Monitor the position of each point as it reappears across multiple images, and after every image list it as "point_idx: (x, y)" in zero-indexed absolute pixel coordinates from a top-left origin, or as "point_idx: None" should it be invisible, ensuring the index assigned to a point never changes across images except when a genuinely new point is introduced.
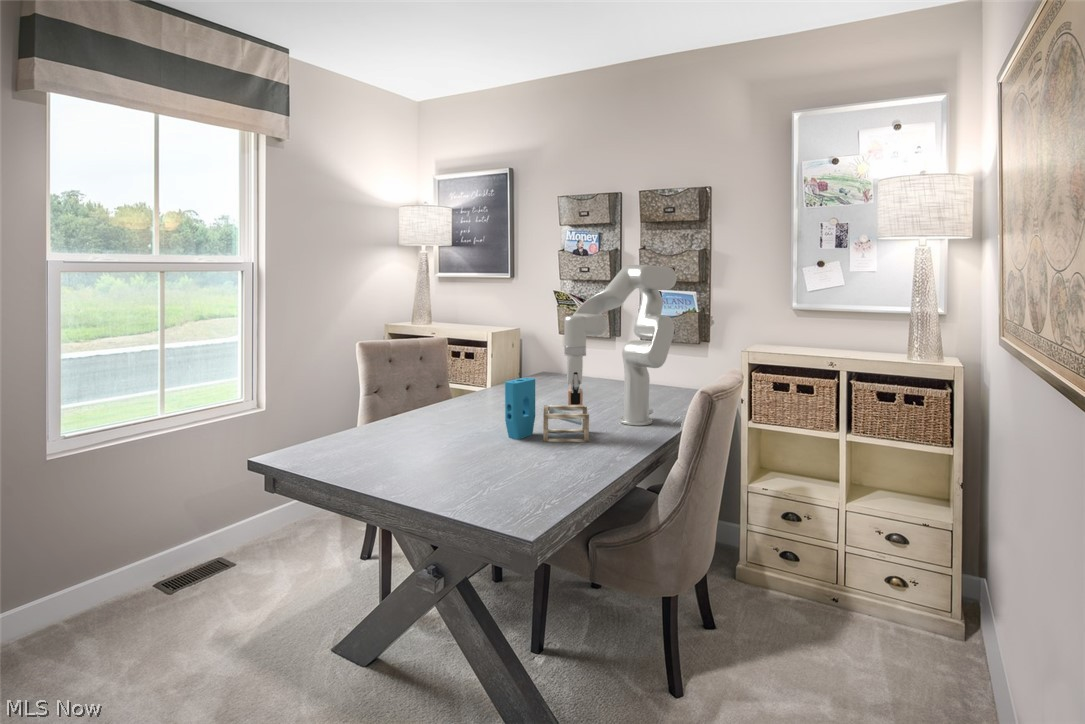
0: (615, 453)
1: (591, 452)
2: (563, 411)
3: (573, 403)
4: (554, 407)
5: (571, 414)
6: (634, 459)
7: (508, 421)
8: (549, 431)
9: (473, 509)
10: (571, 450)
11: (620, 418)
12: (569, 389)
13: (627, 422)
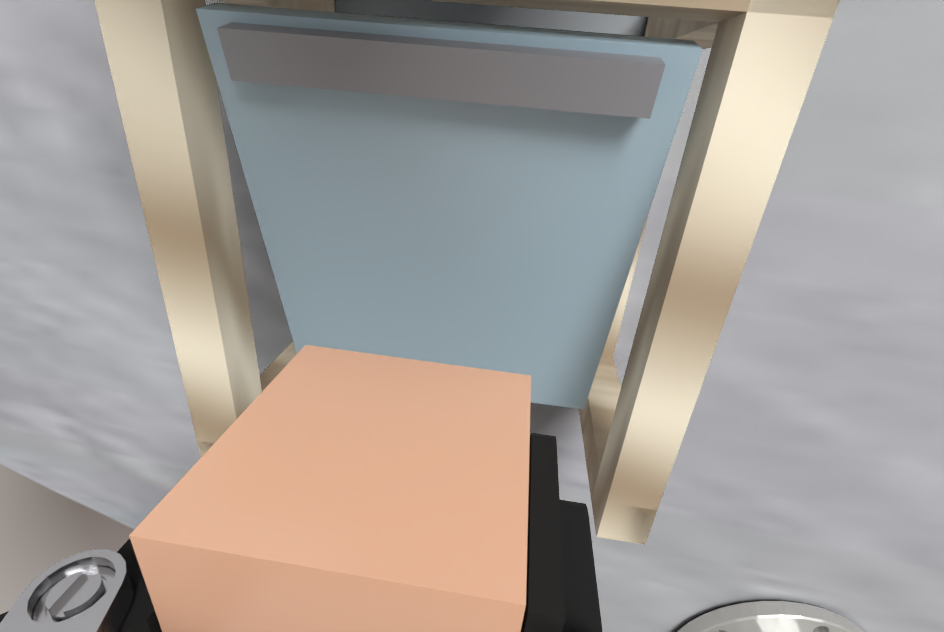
0: (113, 422)
1: (94, 312)
2: (626, 262)
3: None
4: (703, 142)
5: (175, 317)
6: (44, 471)
7: None
8: None
9: None
10: (99, 197)
11: (823, 625)
12: (386, 608)
13: (708, 626)
